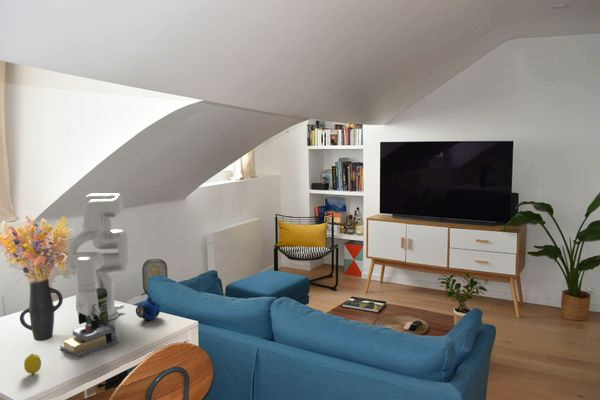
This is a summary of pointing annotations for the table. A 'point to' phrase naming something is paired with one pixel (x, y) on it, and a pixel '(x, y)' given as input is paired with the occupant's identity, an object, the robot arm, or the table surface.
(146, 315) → the bomb
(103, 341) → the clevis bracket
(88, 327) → the walnut pin
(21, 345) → the table surface
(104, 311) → the coffee jar
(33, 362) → the lemon
